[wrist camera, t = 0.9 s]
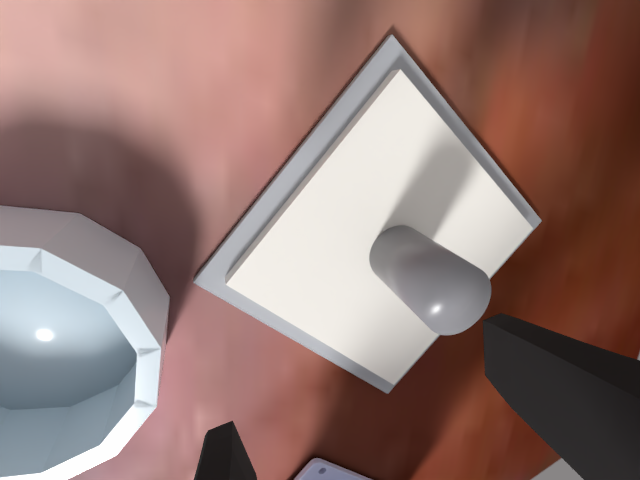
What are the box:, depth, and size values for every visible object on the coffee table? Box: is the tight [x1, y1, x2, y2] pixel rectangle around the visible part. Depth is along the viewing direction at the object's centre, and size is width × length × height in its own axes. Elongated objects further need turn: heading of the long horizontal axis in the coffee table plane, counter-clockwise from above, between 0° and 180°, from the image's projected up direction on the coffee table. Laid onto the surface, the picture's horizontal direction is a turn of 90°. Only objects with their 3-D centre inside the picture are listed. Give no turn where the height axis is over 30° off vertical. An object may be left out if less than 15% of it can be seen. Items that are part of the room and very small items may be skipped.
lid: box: [225, 69, 533, 385], centre depth 17 cm, size 12×12×6 cm
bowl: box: [0, 205, 170, 480], centre depth 14 cm, size 10×10×4 cm
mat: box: [193, 35, 542, 394], centre depth 20 cm, size 14×14×1 cm
